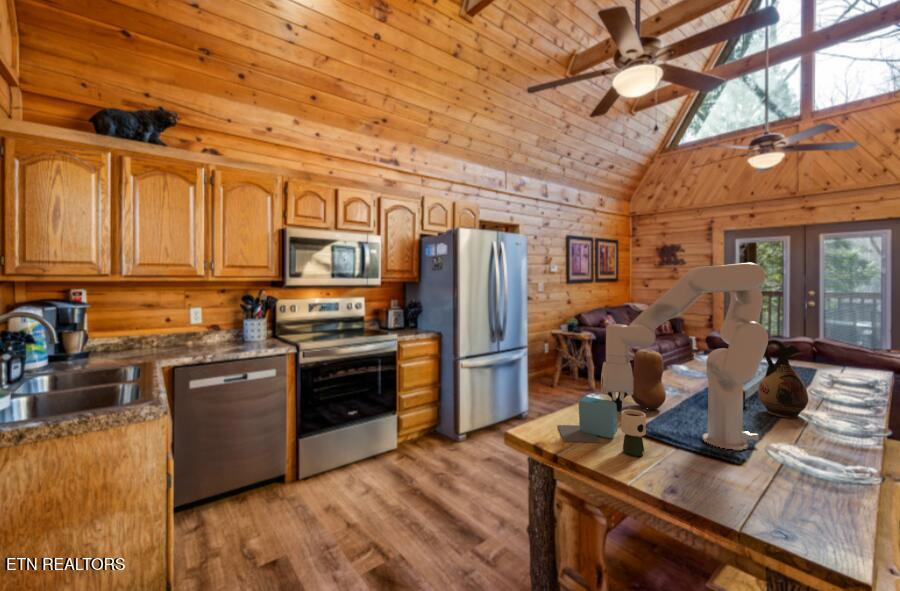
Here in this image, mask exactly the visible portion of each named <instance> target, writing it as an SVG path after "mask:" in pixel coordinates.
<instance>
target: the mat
mask: <svg viewBox="0 0 900 591" xmlns="http://www.w3.org/2000/svg"><path fill="white" fill-rule="evenodd" d="M558 427H559V428H558ZM557 428H558V430H560V431H559V433H560V435H562V436H561V438H562V441H563V440H564V441H565V442H564V441H563V442H564V443H583V442H593V443H594V444H601V441H600V439H599V438H598V435H593V434H589V433H584V432H582V431H581V430H580V425H579V424H578V425H574V424H573V425H571V424H557ZM566 441H567V442H566ZM593 443H592V444H593Z"/></svg>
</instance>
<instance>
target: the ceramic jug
mask: <svg viewBox="0 0 900 591" xmlns="http://www.w3.org/2000/svg"><path fill="white" fill-rule="evenodd" d="M774 345H776V346H777V347H778V348H777V349H776V350H775V351H773V353H772V355H773V356H775V357H777V359H776V361H775V363H773V362H774V361H773V360H772V358H771V356H770V352H769V348H768V347H770V346H774ZM803 353H804V352H803V351H802V350H801V349H799V348H798V347H797V346H795V345H793V344H789V345H787V346H786V345H785V344H784V343H783V342H782V341H781V340H778V339H773V338H770V339H768V344H767V348H766V350H765V353H764V357H765V360H766V362H767V369H766V372H765V375H764V376H763V377H762V379H761V380H760V382H759V385H758V392H757V395H758V399H759V401H760V403H761V404H762V405H763V407H765V408H766V413H768V414H771V415H774V416H776V417H780V418H784V419H785V418H786V419H792V420H793V419H797V418H799V414H800V413H801V412H803V411H804V410H805V409H806V408H807V406H808V403H809V394H808V391H807V387H806V385H805V383H804V382H803V380H802V379H801V377H800V376H799V374H798V372H796V370H795V369H794V367H792V365H791V363H790V360H789V358H791V357H794V356H796V355H797V356H798V355H800V354H803Z"/></svg>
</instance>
